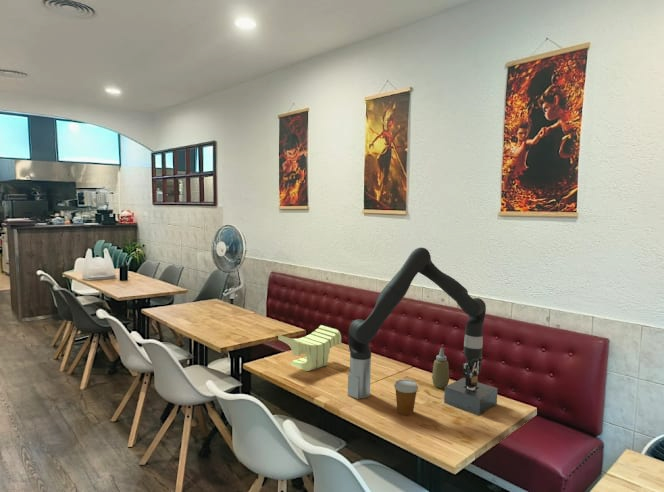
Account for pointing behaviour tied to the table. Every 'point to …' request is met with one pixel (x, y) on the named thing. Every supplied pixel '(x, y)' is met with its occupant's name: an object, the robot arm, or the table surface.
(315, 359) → the slatted curved stool
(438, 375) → the squeeze bottle
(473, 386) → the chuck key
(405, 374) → the table surface
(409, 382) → the disposable coffee cup
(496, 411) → the table surface
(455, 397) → the block
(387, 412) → the table surface
